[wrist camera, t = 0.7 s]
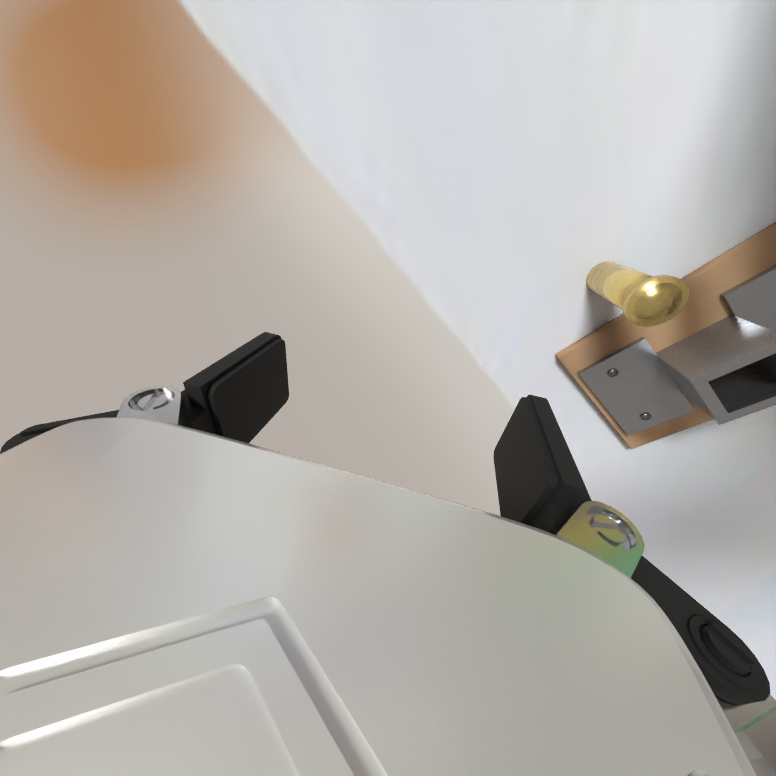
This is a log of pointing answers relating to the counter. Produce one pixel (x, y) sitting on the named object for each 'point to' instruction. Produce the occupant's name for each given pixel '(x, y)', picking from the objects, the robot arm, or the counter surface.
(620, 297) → the hinge pin
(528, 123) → the counter surface
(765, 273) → the hinge
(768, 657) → the counter surface
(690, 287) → the mount board
